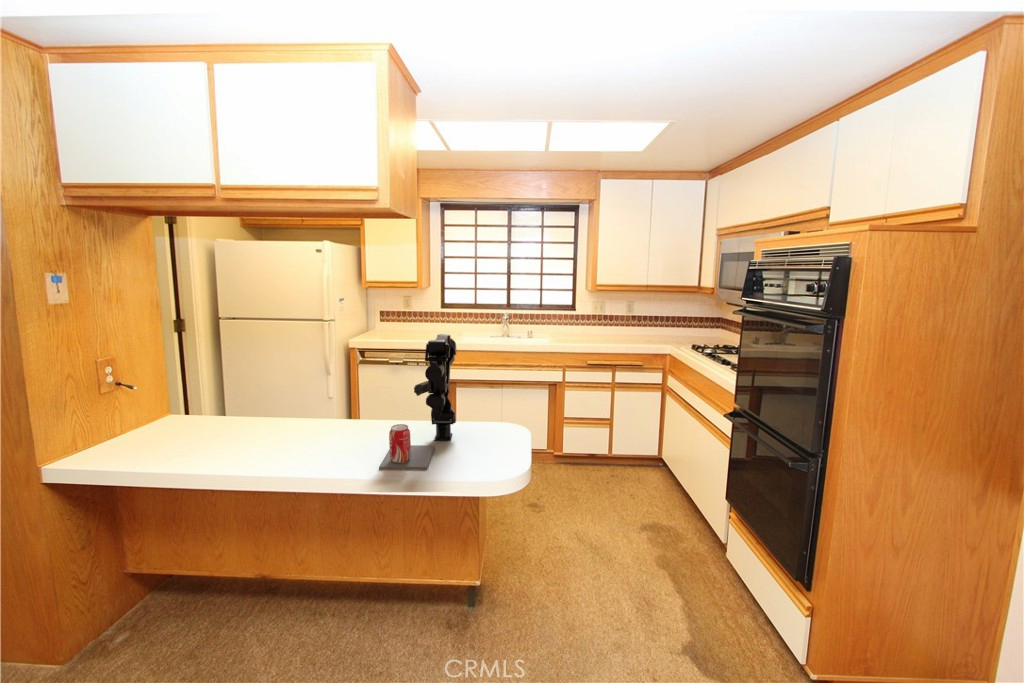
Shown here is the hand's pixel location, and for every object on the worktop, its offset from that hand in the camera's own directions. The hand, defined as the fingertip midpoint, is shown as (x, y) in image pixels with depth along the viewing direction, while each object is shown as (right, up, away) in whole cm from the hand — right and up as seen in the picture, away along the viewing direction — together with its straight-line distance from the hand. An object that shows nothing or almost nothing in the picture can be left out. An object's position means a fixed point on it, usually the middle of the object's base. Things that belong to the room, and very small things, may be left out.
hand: (438, 416), depth 164 cm
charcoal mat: (-10, -14, -5) cm, 18 cm away
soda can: (-12, -14, -9) cm, 20 cm away
